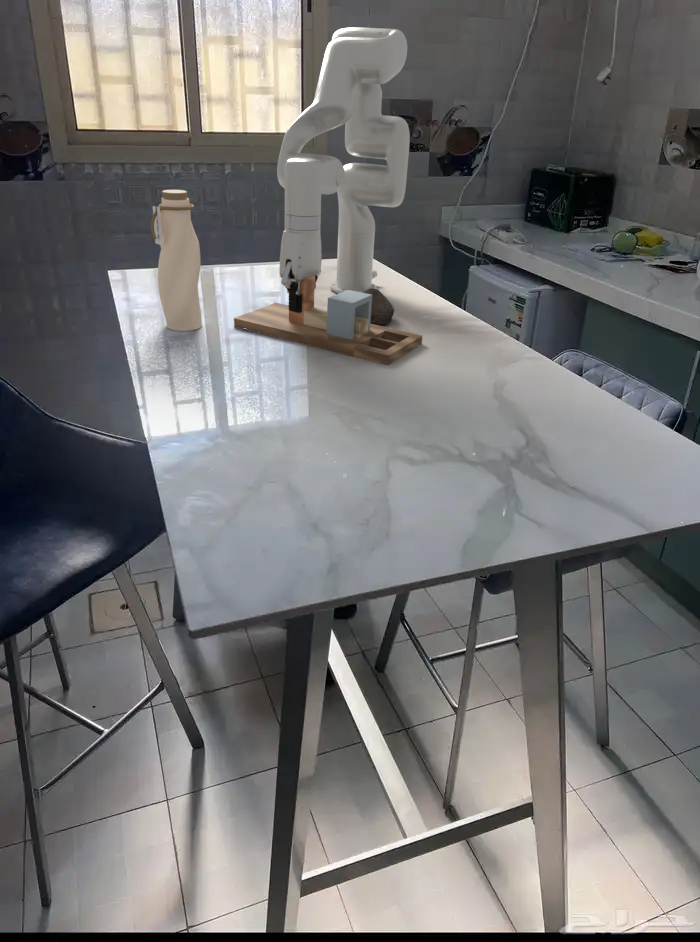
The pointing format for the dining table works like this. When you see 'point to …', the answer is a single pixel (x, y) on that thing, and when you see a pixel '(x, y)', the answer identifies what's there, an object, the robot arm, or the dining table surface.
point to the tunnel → (347, 312)
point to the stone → (380, 308)
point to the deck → (370, 346)
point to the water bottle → (177, 261)
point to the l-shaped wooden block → (319, 311)
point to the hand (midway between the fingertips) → (301, 308)
